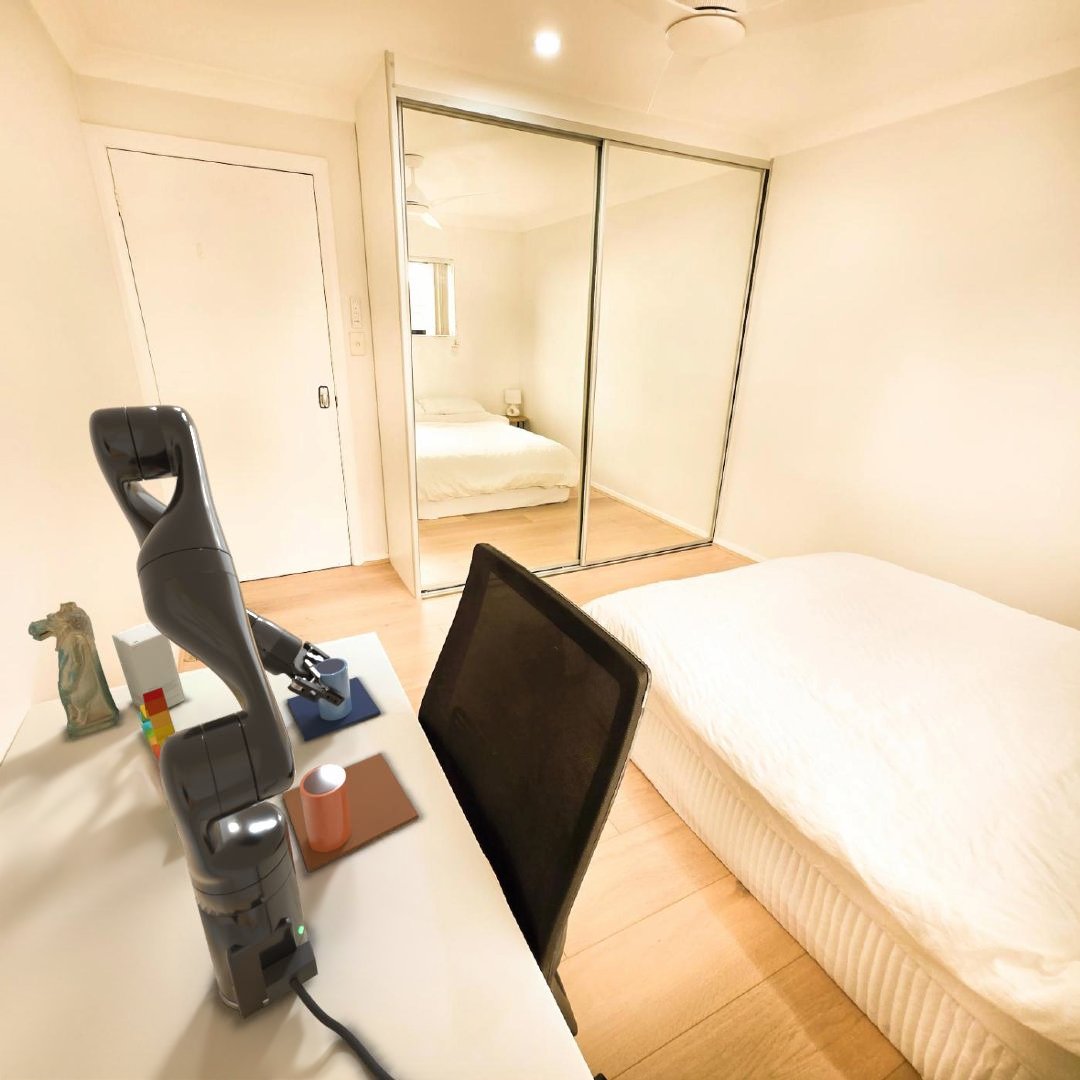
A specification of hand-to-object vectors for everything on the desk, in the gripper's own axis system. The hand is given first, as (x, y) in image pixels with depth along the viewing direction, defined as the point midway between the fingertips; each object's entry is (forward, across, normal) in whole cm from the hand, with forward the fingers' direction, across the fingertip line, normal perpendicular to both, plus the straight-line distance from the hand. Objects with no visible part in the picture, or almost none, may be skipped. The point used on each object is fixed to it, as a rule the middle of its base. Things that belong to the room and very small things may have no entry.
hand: (342, 690), depth 102 cm
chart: (-15, -10, +22) cm, 28 cm away
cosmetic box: (-22, +12, +29) cm, 38 cm away
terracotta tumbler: (+3, -29, +3) cm, 30 cm away
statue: (-28, +7, +35) cm, 45 cm away
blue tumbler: (+2, 0, +4) cm, 5 cm away
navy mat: (+2, +2, +5) cm, 6 cm away
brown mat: (+5, -24, +2) cm, 25 cm away
